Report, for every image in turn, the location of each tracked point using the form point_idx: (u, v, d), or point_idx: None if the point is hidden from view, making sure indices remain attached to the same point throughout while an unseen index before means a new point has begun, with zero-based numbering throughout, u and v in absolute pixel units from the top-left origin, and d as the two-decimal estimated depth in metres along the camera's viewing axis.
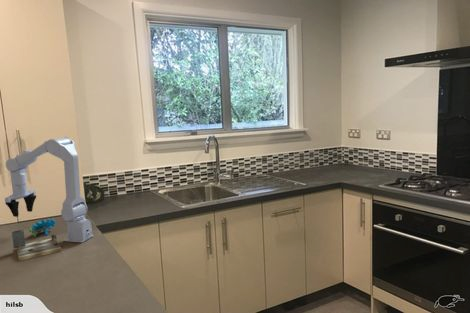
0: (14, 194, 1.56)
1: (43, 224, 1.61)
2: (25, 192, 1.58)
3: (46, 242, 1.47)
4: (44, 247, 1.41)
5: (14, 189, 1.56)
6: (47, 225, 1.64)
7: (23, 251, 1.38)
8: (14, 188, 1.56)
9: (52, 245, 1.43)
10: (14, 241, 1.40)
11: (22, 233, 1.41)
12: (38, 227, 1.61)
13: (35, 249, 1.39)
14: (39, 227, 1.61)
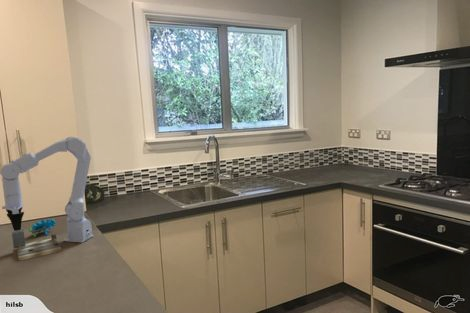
0: (13, 205, 1.37)
1: (43, 224, 1.61)
2: None
3: (46, 242, 1.47)
4: (44, 247, 1.41)
5: (13, 199, 1.37)
6: (47, 225, 1.63)
7: (23, 251, 1.38)
8: (14, 198, 1.37)
9: (52, 245, 1.43)
10: (14, 241, 1.40)
11: (22, 233, 1.41)
12: (38, 227, 1.61)
13: (35, 249, 1.39)
14: (39, 227, 1.61)
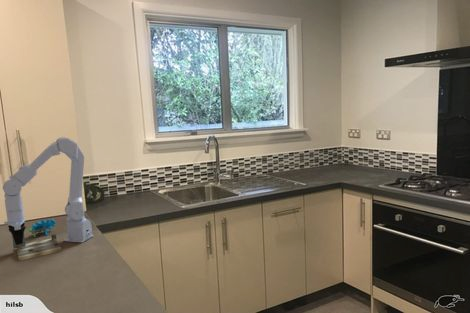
0: (15, 221, 1.38)
1: (43, 224, 1.61)
2: None
3: (46, 242, 1.47)
4: (44, 247, 1.41)
5: (15, 215, 1.38)
6: (47, 225, 1.63)
7: (23, 251, 1.38)
8: (16, 214, 1.38)
9: (52, 245, 1.43)
10: (14, 241, 1.40)
11: None
12: (38, 227, 1.61)
13: (35, 249, 1.39)
14: (39, 227, 1.61)
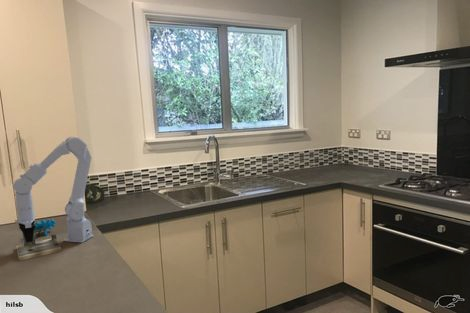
0: (25, 219, 1.40)
1: (43, 224, 1.61)
2: None
3: (46, 242, 1.47)
4: (44, 247, 1.41)
5: (26, 213, 1.40)
6: (47, 225, 1.63)
7: (23, 251, 1.38)
8: (26, 212, 1.40)
9: (52, 245, 1.43)
10: (24, 239, 1.42)
11: None
12: (38, 227, 1.61)
13: (35, 249, 1.39)
14: (39, 227, 1.61)
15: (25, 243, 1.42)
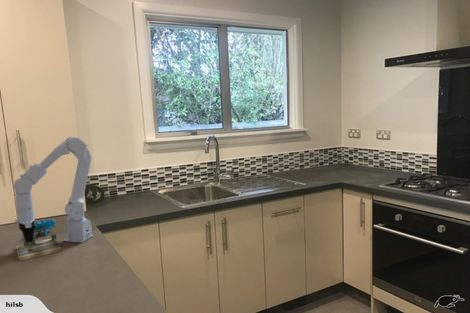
0: (25, 219, 1.40)
1: (43, 224, 1.61)
2: None
3: (46, 242, 1.47)
4: (44, 247, 1.41)
5: (26, 213, 1.40)
6: (47, 225, 1.63)
7: (23, 251, 1.38)
8: (26, 212, 1.40)
9: (52, 245, 1.43)
10: (24, 239, 1.42)
11: None
12: (38, 227, 1.61)
13: (35, 249, 1.39)
14: (39, 227, 1.61)
15: (25, 243, 1.42)
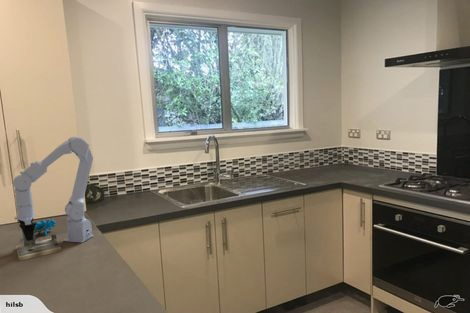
0: (25, 216, 1.40)
1: (43, 224, 1.61)
2: (33, 212, 1.44)
3: (46, 242, 1.47)
4: (44, 247, 1.41)
5: (25, 210, 1.40)
6: (47, 225, 1.63)
7: (23, 251, 1.38)
8: (26, 209, 1.40)
9: (52, 245, 1.43)
10: (24, 239, 1.42)
11: None
12: (38, 227, 1.61)
13: (35, 249, 1.39)
14: (39, 227, 1.61)
15: (25, 243, 1.42)
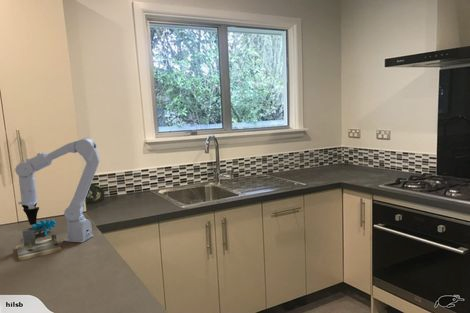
0: (28, 201, 1.46)
1: (42, 225, 1.61)
2: (36, 197, 1.50)
3: (46, 242, 1.47)
4: (44, 247, 1.41)
5: (29, 195, 1.46)
6: (47, 226, 1.63)
7: (23, 251, 1.38)
8: (29, 194, 1.46)
9: (52, 245, 1.43)
10: (24, 239, 1.42)
11: (32, 231, 1.43)
12: (38, 227, 1.60)
13: (35, 249, 1.39)
14: (39, 227, 1.61)
15: (25, 243, 1.42)
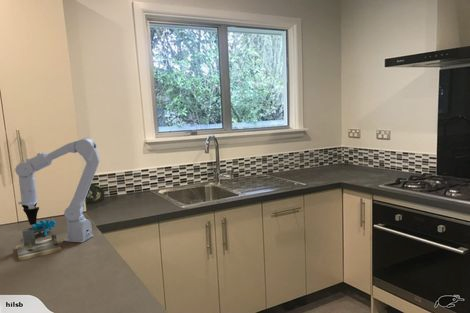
0: (28, 201, 1.46)
1: (42, 225, 1.60)
2: (36, 197, 1.50)
3: (46, 242, 1.47)
4: (44, 247, 1.41)
5: (29, 195, 1.46)
6: (47, 226, 1.63)
7: (23, 251, 1.38)
8: (29, 194, 1.46)
9: (52, 245, 1.43)
10: (24, 239, 1.42)
11: (32, 231, 1.43)
12: (38, 227, 1.60)
13: (35, 249, 1.39)
14: (39, 227, 1.61)
15: (25, 243, 1.42)
